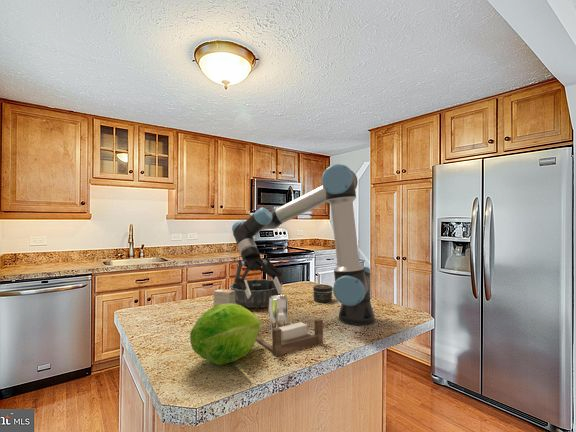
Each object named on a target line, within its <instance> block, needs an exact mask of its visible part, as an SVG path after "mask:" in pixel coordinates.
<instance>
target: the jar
mask: <svg viewBox="0 0 576 432" xmlns="http://www.w3.org/2000/svg"><path fill="white" fill-rule="evenodd" d="M312 290H313V292H312V295H313V300H314V302H316V303H320V304H326V303H327V304H328V303H331V302H332V300H333V286H332V285H330V284H315V285H313V289H312Z"/></svg>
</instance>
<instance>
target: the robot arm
mask: <svg viewBox="0 0 576 432" xmlns="http://www.w3.org/2000/svg"><path fill="white" fill-rule="evenodd" d="M357 177H358V176H357V175H356V173H355V172H354V171H353V170H351V169H350V167H348V166H347V165H345V164H340V163H335V164H332V165H330V166H328V167H327V168H326V169H325V170H324V171H323V173H322V175H321V186H318V187H317V188H314V189H313V190H311V191H308V192H306V193H305V194H303V195H301V196H299V197H297V198H295V199H293V200H291V201H289V202H287V203H285V204H283V205H281V206H279V207H277V208H275V209H273V210H271V211H269V210H268V208H266V207H260V208H259V209H257V210H255V212H254V213H253V214H252V215H251V216H249V217H248V218H247V219H246V220H238V221H236V222H234V223H233V225H232V226H231V230H232V235H233V237H234V239H235V242H236V244H237V249H238V250H239V254H240V256H241V259H242V260H241V259H239V260H237V263H236V267H237V269H236V272H235V273H236V274H235V276H234V277H235V279H234V283H239V285H241V287H242V290H245V293H246V296H247V299H249V298H250V296H251V292H250V289H249V286H248V283H247V280H248V279H246V277H247V275H248V273H249V271H251V272H254V271H260V272H263V273H265V274H266V275H268V277H270V278H271V279H272V280H273V282H274V284H275V286H276V289H277V291H278V294H280V295H281V293H282V291H284V290H283V288H282V287H281V283H282V281H281V276H282V275H283V274H282V272H281V271H280V270H279V269H278V268H277V267H276V266H275V265H274V264H273V263H272V262H271V261H270V259H269V258H268V257H265V259H262V258H261V253H260V252H259V249H258V247H257V246H258V245H257V244H256V241H255V239H254V237H255V236H256V235H257V234H258V233H259V232H261V231H262V230H267V229H269V230H275V229H277V228H278V227H280V226H281V225H282V224H284V223H286V222H288V221H291V220H292V219H295V218H296V217H298V216H301V215H303V214H305V213H307V212H309V211H311V210H314V209H315V208H317V207H320V206H321V205H324V204H326V203H328V204H329V205H330V208H331V209H330V210H331V218H332V228H333V236H334V238H333V239H334V246H335V256H336V257H335V258H336V266H335V267H334V269H333V274H334V276H333V277H334V282H333V286H332V294H333V295H334V297H335V299H336V301H338V302H339V303H340V304H341V305H340V309H339V312H338V320H339V321H340V322H342V323H344V324H347V325H352V326H368V325H372V324H374V323H375V321H376V320H375V313H374V309H373V306H372V303H371V302H372V301H371V275H372V273H371V268H370V267H368V266H363V265H362V264H361V263H360V257H359V255H360V254H359V247H358V237H357V231H356V230H357V229H356V219H355V210H354V201H355V199H357V194H356V193H357V192H356V189H357V187H358V182H359V181H358V178H357ZM243 266H245V267H246V269H245V271H244V273H243V275H242V276H241V271H242V268H243Z"/></svg>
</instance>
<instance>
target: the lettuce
mask: <svg viewBox="0 0 576 432" xmlns="http://www.w3.org/2000/svg"><path fill="white" fill-rule="evenodd" d="M193 325H194V326H193V327H192V329H191V330H190V334H189V339H190V342H189V343H190V345H191V348H192V350H193V351H194V353H196V354H197V355H198V356H200V357H201V358H202V359H204V360H206V361H209V362H211V363H213V364H215V365H217V366H221V365H227V364H229V363H234V362H236V361H238V360H239V359H240V360H241V358H243V357H245V356H247V355H248V353H249V352H250V351H251V350H252V348H253V347H254V346H255V343H256V342H257V341H256V339H257V336H259V332H260V330H261V329H262V327H263V321H262V319H261V318H260V317H258V316H257V315H256V314H254V313H253V312H251V311H250V310H249V309H248V308H247V307H246V308H244V307H243V306H241V305H238V304H236V303H235V304H231V303H230V304H221V305H217V306H214V305H213V306H212V307H211V308H210V309H209V310H207V311H205V312H204V313H202V315H201V316H200V317H198V319H197V320H196V321H195V323H194V324H193Z"/></svg>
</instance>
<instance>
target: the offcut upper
mask: <svg viewBox="0 0 576 432" xmlns="http://www.w3.org/2000/svg"><path fill="white" fill-rule="evenodd" d="M290 324H291V325H287V326H283V327H279V328H280V329H281V339H282V340H286V339H290V338H294V337H297V336H301V335H305V334H307V332H308V324H307V323H303V322H302V321H300V322H297V323H290Z"/></svg>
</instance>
